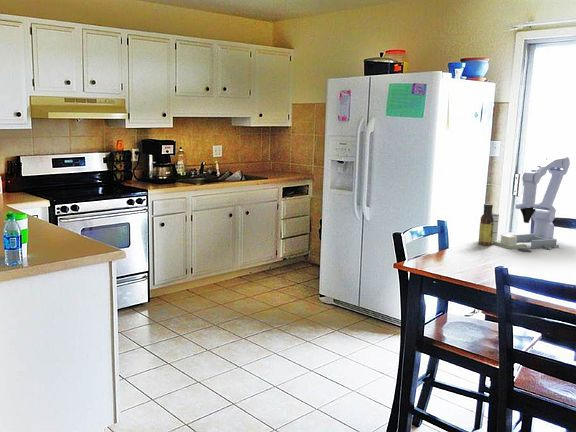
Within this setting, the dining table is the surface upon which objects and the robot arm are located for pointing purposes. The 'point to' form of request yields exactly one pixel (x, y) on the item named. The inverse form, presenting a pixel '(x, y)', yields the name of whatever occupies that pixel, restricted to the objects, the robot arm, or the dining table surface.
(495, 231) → the syrup box
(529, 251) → the hole marker
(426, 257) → the dining table surface
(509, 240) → the cube
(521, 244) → the pale green flat block
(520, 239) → the pale blue square frame
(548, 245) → the crook tool
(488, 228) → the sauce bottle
